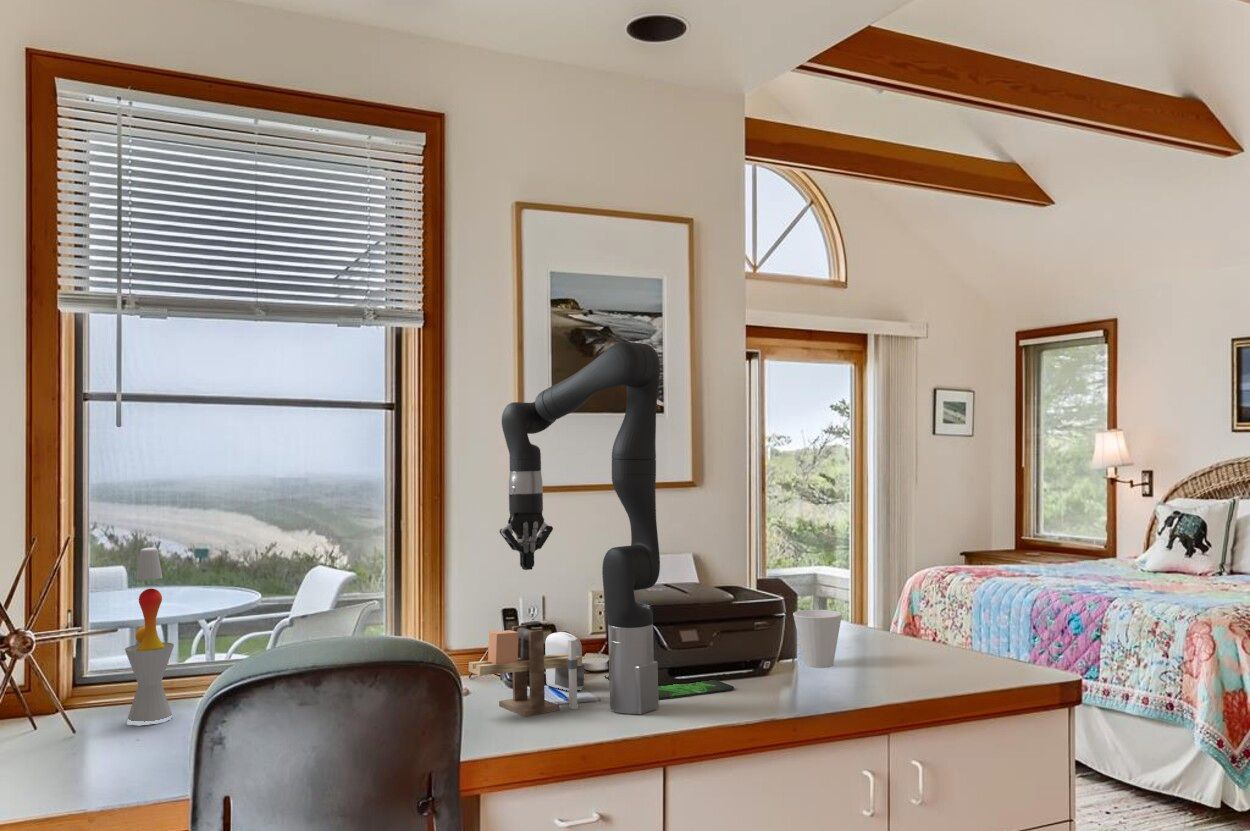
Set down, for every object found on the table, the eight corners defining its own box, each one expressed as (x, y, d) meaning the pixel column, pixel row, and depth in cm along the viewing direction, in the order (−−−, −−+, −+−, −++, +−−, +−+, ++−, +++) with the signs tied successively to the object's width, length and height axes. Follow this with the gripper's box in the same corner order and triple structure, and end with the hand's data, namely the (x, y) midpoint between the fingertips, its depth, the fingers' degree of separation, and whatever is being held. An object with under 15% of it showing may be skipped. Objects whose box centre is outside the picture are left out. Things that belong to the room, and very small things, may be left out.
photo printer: (543, 685, 224) (542, 631, 225) (558, 682, 227) (557, 628, 227) (569, 693, 216) (568, 636, 217) (585, 690, 219) (584, 634, 219)
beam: (570, 681, 214) (572, 623, 215) (585, 686, 210) (586, 627, 210) (466, 692, 200) (469, 631, 201) (479, 698, 195) (482, 635, 196)
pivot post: (532, 699, 212) (531, 622, 212) (559, 710, 203) (557, 629, 203) (499, 705, 207) (497, 627, 208) (524, 716, 198) (523, 634, 199)
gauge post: (574, 706, 205) (573, 639, 205) (578, 708, 204) (576, 640, 204) (568, 708, 204) (566, 639, 204) (572, 709, 203) (570, 640, 203)
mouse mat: (600, 677, 233) (600, 673, 233) (684, 667, 241) (684, 663, 241) (646, 703, 208) (646, 699, 208) (738, 692, 216) (738, 687, 216)
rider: (509, 663, 205) (510, 630, 205) (517, 666, 202) (518, 632, 202) (487, 665, 202) (489, 631, 202) (495, 668, 199) (496, 633, 199)
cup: (784, 662, 243) (783, 612, 243) (824, 657, 248) (822, 608, 248) (813, 672, 232) (811, 619, 232) (854, 666, 237) (852, 614, 237)
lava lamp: (183, 717, 203) (182, 547, 204) (142, 728, 195) (142, 551, 197) (156, 712, 208) (155, 545, 209) (115, 723, 200) (115, 549, 201)
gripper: (542, 490, 227) (544, 565, 227) (491, 492, 220) (492, 570, 219) (559, 490, 221) (561, 568, 221) (507, 493, 214) (508, 573, 213)
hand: (527, 569), depth 220 cm, fingers closed
